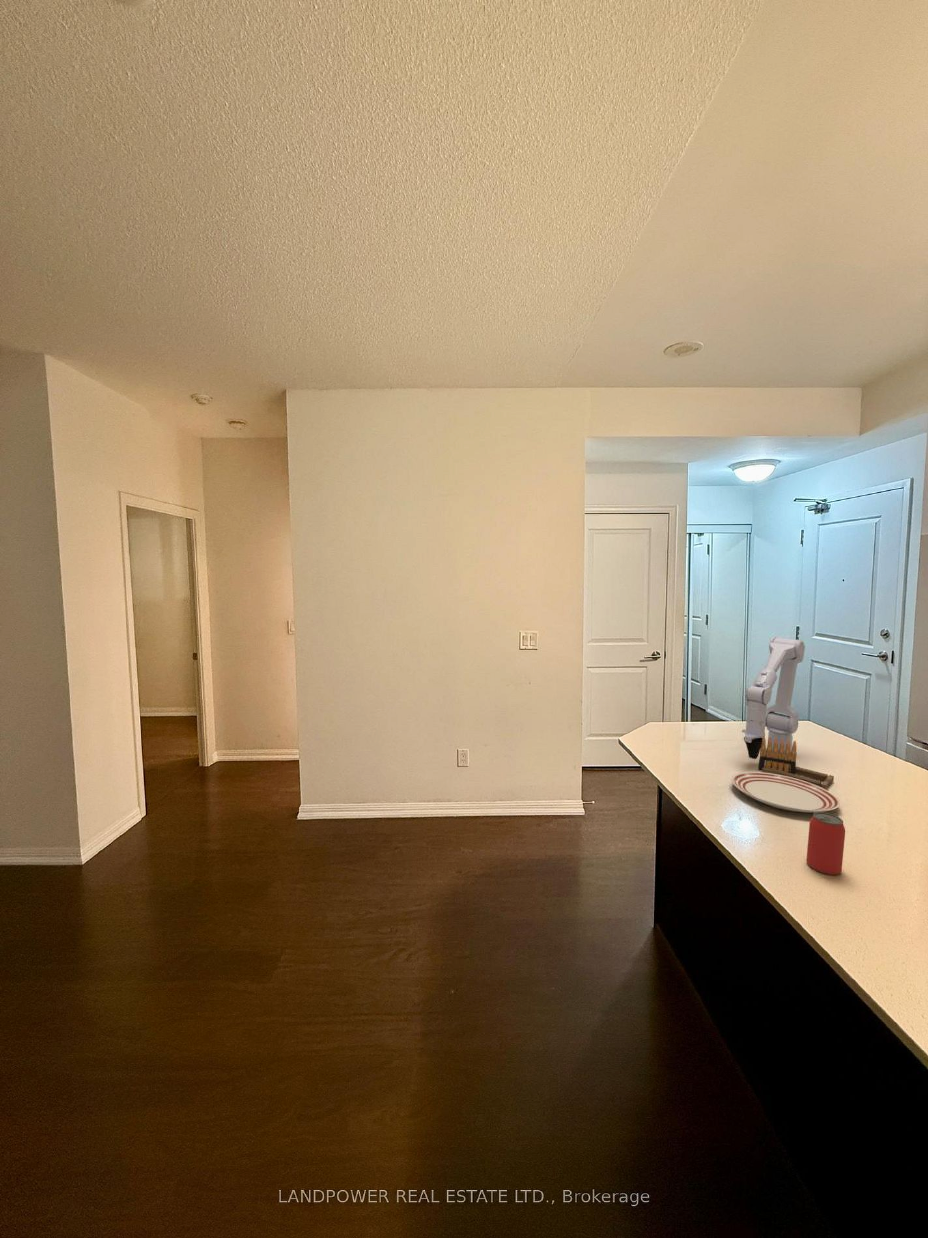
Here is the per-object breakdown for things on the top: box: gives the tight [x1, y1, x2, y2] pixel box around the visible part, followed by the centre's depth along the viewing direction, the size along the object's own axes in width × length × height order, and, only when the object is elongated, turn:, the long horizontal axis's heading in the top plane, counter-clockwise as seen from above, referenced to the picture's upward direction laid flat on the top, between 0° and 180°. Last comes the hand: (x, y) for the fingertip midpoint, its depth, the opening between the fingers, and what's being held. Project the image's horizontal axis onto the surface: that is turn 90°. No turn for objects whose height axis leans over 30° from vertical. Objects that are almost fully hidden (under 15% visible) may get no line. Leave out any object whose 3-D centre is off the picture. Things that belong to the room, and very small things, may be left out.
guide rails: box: [761, 761, 835, 791], centre depth 163 cm, size 11×18×2 cm, turn 42°
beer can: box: [805, 812, 846, 876], centre depth 112 cm, size 7×7×12 cm
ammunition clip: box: [757, 735, 798, 775], centre depth 166 cm, size 11×2×12 cm, turn 62°
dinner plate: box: [731, 771, 841, 813], centre depth 148 cm, size 27×27×3 cm
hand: (753, 757), depth 172 cm, fingers closed
